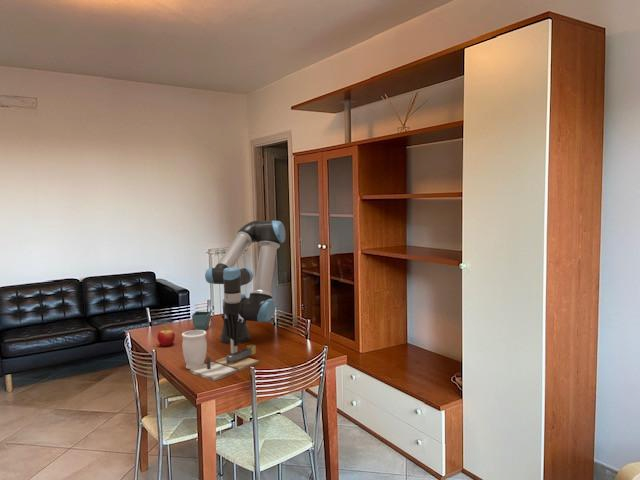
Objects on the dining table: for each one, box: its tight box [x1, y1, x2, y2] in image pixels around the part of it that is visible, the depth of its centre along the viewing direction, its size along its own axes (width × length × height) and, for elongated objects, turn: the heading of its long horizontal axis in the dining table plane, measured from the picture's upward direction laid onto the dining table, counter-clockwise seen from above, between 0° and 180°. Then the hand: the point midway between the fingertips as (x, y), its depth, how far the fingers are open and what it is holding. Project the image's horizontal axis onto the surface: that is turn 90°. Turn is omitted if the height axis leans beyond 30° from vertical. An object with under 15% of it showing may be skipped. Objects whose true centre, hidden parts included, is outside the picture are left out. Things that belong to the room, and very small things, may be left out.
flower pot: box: [191, 311, 212, 331], centre depth 270 cm, size 9×9×9 cm
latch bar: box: [225, 343, 256, 362], centre depth 214 cm, size 16×4×4 cm, turn 142°
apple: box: [156, 326, 176, 347], centre depth 240 cm, size 8×8×10 cm
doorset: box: [189, 356, 260, 382], centre depth 207 cm, size 16×25×6 cm, turn 142°
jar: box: [181, 329, 208, 370], centre depth 210 cm, size 11×10×15 cm
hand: (234, 352), depth 220 cm, fingers closed
